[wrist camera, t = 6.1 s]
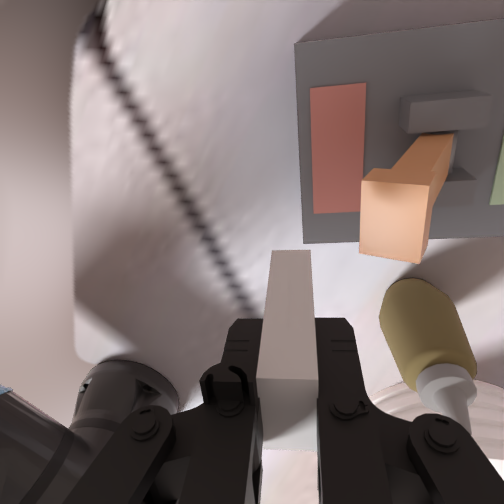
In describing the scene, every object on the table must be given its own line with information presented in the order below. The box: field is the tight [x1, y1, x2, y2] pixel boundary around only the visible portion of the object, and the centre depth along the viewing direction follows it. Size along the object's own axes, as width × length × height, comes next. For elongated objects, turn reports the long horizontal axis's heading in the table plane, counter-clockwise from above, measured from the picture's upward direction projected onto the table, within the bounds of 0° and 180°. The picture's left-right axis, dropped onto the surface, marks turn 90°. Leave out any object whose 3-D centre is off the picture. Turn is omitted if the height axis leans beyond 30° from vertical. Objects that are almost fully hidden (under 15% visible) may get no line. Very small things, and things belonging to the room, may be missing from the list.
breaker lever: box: [359, 130, 458, 264], centre depth 23 cm, size 3×4×14 cm
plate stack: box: [369, 380, 504, 480], centre depth 52 cm, size 28×28×12 cm
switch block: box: [294, 18, 504, 244], centre depth 31 cm, size 20×16×11 cm
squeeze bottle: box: [379, 278, 477, 435], centre depth 37 cm, size 8×8×18 cm
